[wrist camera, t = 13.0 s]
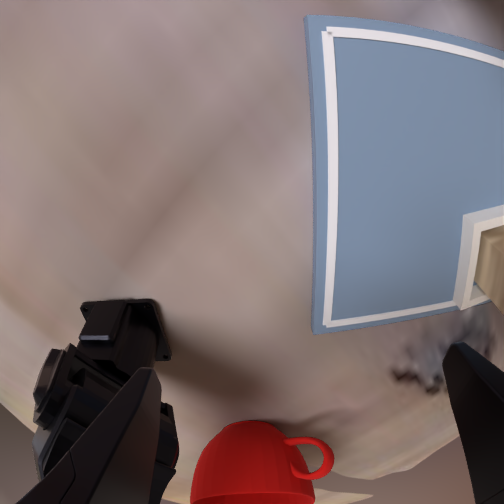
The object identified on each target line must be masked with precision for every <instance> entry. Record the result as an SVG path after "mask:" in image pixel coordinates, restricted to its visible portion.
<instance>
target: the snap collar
mask: <svg viewBox="0 0 504 504" xmlns="http://www.w3.org/2000/svg"><path fill="white" fill-rule="evenodd" d="M502 225H504V205H500V206H496V207H492V208H488V209H484V210H481V211H477V212H473V213H469V214H465V215H463V223H462V235H461V245H460V254H459V263H458V270H457V277H456V283H455V290H454V295H453V301H454V302H455V304H456V305H457V306H458V308H459V309H460V310H464V309H466V308H469V307H471V306H474V305H477V304H479V303H482V302H484V301H487V300H489V299H490V298H489V297H488V296H487V295H486V294H485V292H484V291H483V290H482V289H481V288H480V287H479V286H478V284H477V285H474V286H473V282H474V276H475V271H476V265H477V259H478V252H479V245H480V237H481V231H485V230H488V229H492V228H495V227H498V226H502Z"/></svg>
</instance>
